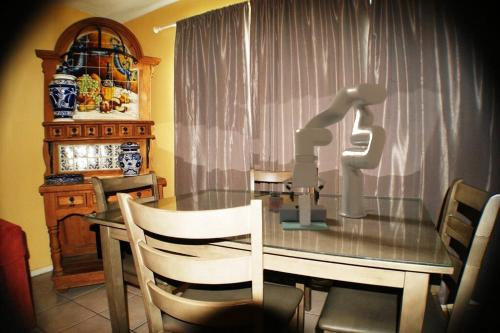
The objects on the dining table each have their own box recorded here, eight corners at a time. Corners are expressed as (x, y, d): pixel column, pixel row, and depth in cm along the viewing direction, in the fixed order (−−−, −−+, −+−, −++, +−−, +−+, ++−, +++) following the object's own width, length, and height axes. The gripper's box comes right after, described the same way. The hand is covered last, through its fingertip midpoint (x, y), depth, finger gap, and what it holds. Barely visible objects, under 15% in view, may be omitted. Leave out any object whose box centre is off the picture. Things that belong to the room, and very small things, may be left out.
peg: (308, 223, 119) (309, 195, 118) (310, 226, 115) (310, 197, 114) (298, 223, 119) (298, 195, 118) (299, 226, 115) (299, 197, 114)
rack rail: (322, 217, 130) (322, 204, 130) (326, 223, 122) (326, 209, 121) (278, 217, 132) (278, 204, 131) (279, 223, 123) (279, 209, 122)
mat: (324, 224, 121) (324, 222, 121) (328, 230, 113) (328, 228, 113) (281, 223, 122) (281, 222, 122) (282, 229, 114) (282, 227, 114)
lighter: (267, 211, 143) (267, 191, 142) (269, 209, 146) (269, 190, 145) (282, 213, 139) (282, 193, 138) (284, 211, 142) (284, 191, 141)
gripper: (324, 158, 118) (324, 199, 119) (282, 159, 119) (282, 199, 120) (328, 159, 110) (327, 203, 112) (283, 160, 111) (283, 203, 113)
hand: (304, 201), depth 116 cm, fingers open, 9 cm apart
